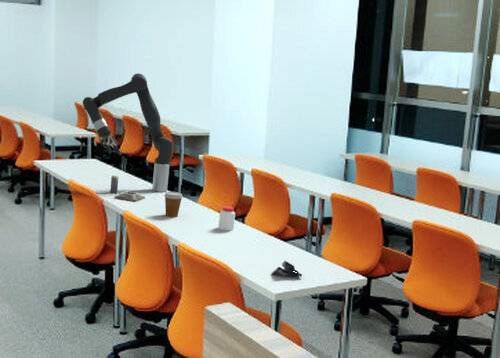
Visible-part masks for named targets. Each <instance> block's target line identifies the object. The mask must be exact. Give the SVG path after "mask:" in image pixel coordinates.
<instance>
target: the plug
mask: <svg viewBox="0 0 500 358" xmlns="http://www.w3.org/2000/svg"><path fill="white" fill-rule="evenodd" d="M110 180H111V181H110V193H109V194H113V193H116V194H118V187H119V186H118V185H119V175H111V179H110Z"/></svg>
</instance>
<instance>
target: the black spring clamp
mask: <svg viewBox="0 0 500 358" xmlns="http://www.w3.org/2000/svg"><path fill="white" fill-rule="evenodd" d="M281 266H282V267H283V268H282V267H280V266H277V268H275V270H274V271H272V272H271V275H272V274H273V275H279V276H282V277H283V276H284V277H294V276H297V277H300V278H301V277H302V276H303V274H302V273H300V272H299V271H298V270H297V269H295V268H296V267H295V266H294V265H293V264H292V263H290V262H289V261H286V260H284V261H283V262H282V263H281ZM293 271H295V272H297V273H295V272H293Z"/></svg>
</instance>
